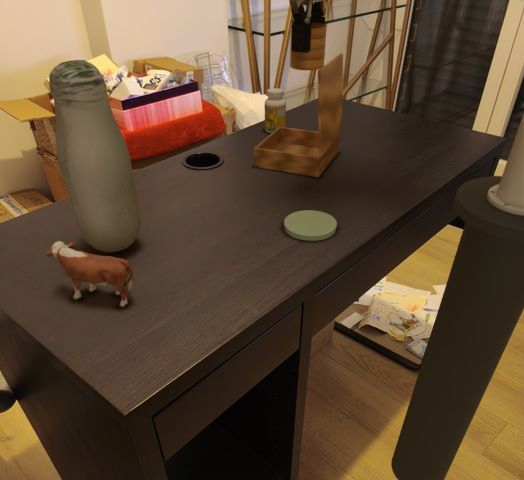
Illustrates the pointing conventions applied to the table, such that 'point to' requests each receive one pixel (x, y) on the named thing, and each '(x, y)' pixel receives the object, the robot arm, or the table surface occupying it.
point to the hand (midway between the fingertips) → (307, 46)
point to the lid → (330, 103)
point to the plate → (310, 225)
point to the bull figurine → (93, 269)
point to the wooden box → (294, 152)
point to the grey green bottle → (94, 157)
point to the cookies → (317, 50)
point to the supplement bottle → (274, 110)
